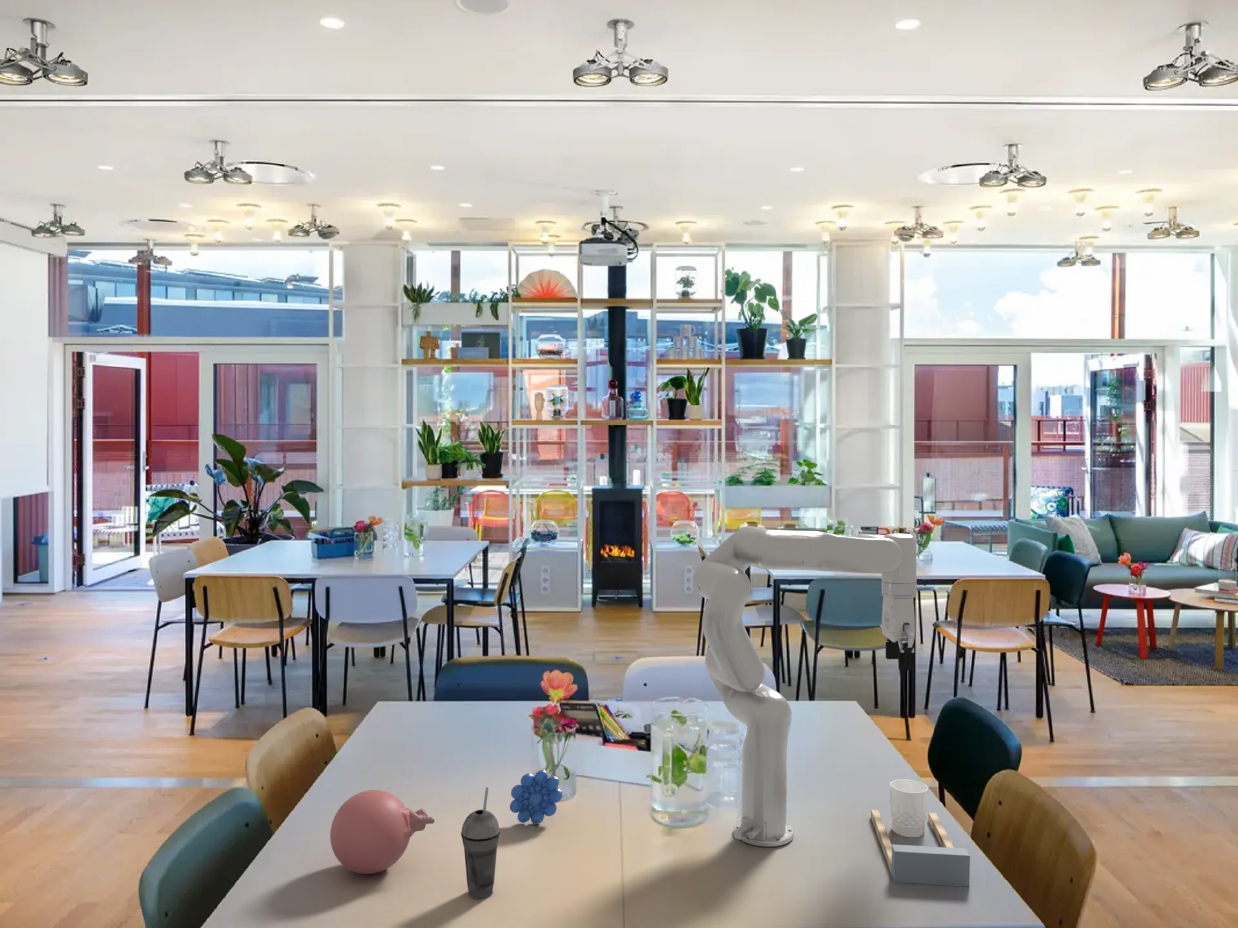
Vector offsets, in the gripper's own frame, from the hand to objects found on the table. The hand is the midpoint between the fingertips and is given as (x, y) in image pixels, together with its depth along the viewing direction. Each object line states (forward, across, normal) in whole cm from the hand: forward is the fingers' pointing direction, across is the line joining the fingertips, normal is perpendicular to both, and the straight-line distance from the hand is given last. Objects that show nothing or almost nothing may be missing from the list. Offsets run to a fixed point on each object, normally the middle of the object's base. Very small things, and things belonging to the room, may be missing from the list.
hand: (899, 664), depth 209 cm
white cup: (+35, +9, -1) cm, 36 cm away
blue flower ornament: (+33, +5, -82) cm, 89 cm away
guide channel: (+34, +17, -2) cm, 38 cm away
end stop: (+34, +31, -4) cm, 46 cm away
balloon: (+32, +27, -110) cm, 118 cm away
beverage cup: (+32, +37, -90) cm, 102 cm away
